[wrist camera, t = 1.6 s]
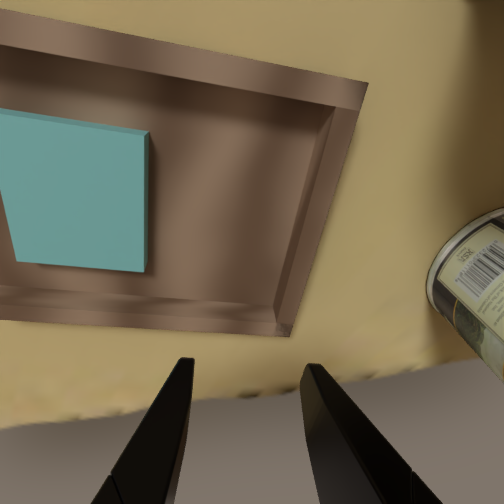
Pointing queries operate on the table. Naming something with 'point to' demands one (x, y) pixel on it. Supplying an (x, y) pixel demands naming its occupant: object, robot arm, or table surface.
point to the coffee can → (474, 287)
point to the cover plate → (75, 191)
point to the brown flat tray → (185, 177)
